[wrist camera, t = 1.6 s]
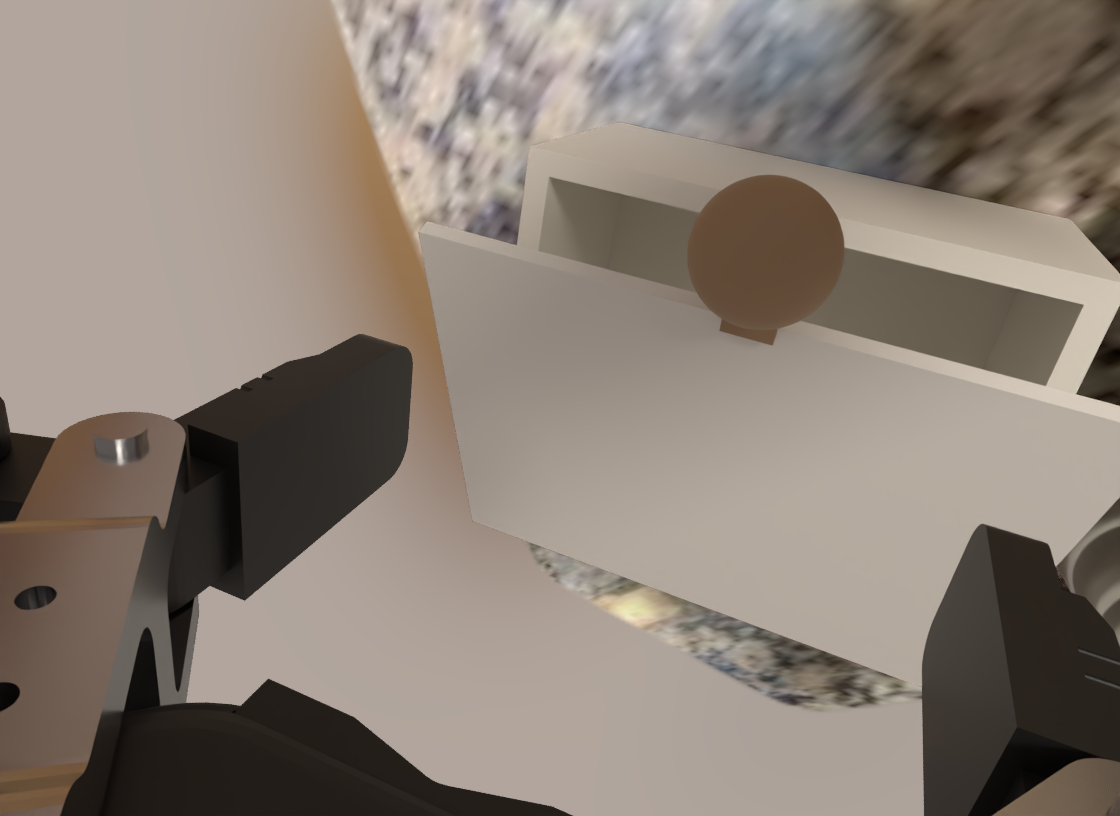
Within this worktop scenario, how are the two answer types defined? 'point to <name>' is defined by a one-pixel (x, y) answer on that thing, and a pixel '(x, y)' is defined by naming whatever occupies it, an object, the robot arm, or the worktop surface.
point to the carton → (869, 240)
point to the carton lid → (749, 430)
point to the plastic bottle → (1098, 567)
